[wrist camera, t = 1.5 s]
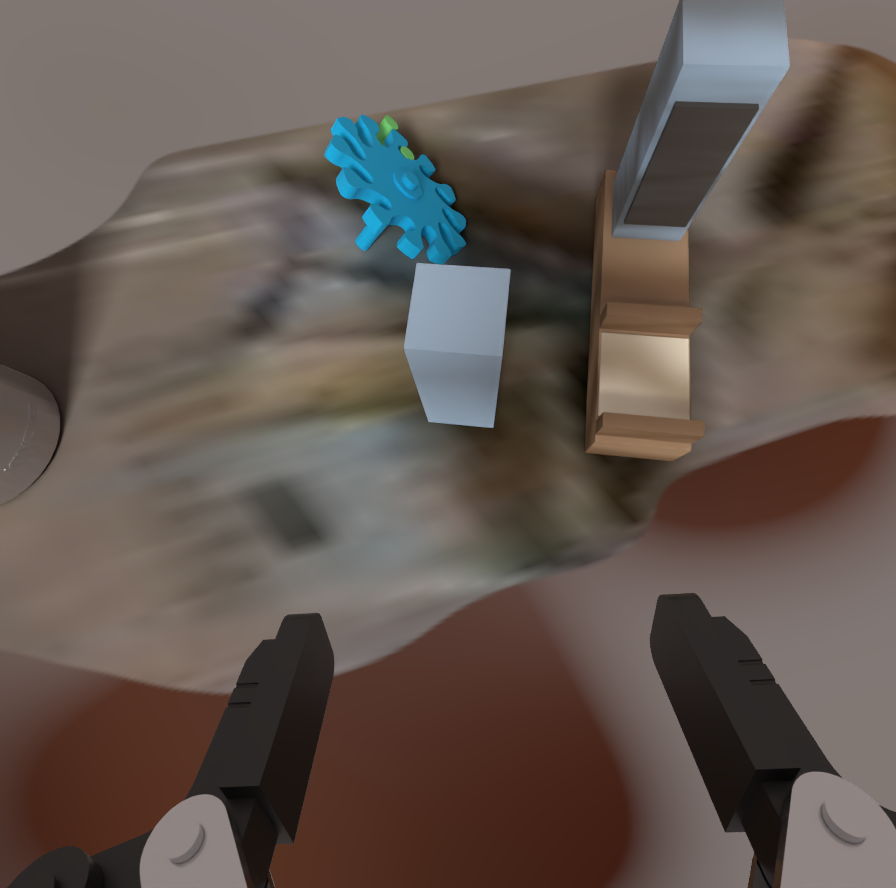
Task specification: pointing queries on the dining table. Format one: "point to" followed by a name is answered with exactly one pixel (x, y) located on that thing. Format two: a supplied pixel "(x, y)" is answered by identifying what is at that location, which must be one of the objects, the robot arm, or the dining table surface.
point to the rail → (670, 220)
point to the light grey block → (457, 341)
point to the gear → (394, 188)
